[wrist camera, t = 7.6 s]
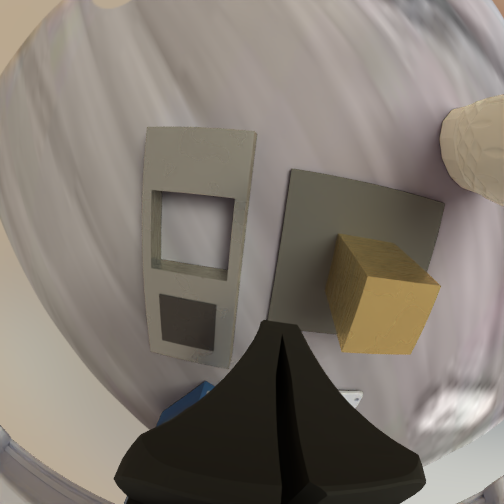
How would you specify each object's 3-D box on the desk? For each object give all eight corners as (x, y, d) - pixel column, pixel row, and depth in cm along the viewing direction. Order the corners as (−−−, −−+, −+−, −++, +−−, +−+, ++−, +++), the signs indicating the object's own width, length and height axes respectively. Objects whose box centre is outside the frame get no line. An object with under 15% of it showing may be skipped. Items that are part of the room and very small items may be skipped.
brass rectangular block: (377, 296, 19) (410, 354, 13) (324, 290, 19) (341, 352, 13) (393, 243, 18) (440, 286, 11) (338, 233, 18) (367, 276, 11)
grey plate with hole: (232, 355, 23) (228, 369, 21) (157, 339, 23) (150, 352, 21) (257, 134, 16) (254, 131, 15) (158, 128, 17) (146, 126, 15)
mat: (399, 336, 21) (400, 338, 20) (266, 324, 21) (266, 326, 21) (442, 203, 16) (444, 203, 16) (291, 168, 17) (291, 168, 17)
